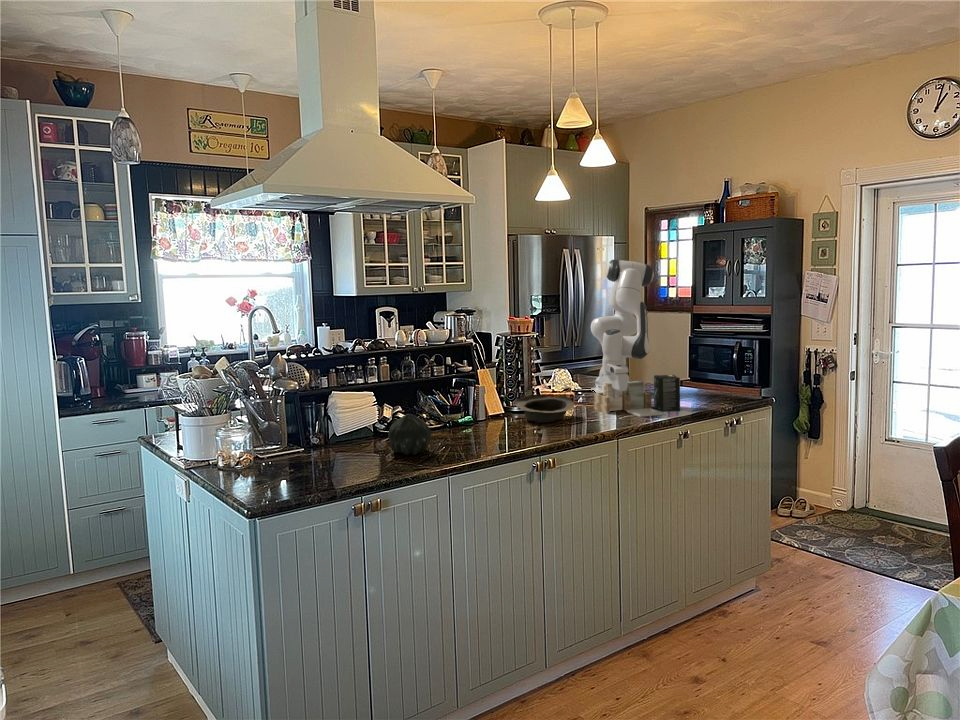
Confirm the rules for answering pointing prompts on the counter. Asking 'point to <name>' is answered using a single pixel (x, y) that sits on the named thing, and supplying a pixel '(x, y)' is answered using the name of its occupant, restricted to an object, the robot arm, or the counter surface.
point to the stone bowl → (544, 407)
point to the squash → (409, 435)
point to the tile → (644, 412)
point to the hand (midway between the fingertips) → (612, 398)
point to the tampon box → (667, 392)
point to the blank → (609, 392)
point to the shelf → (625, 398)
